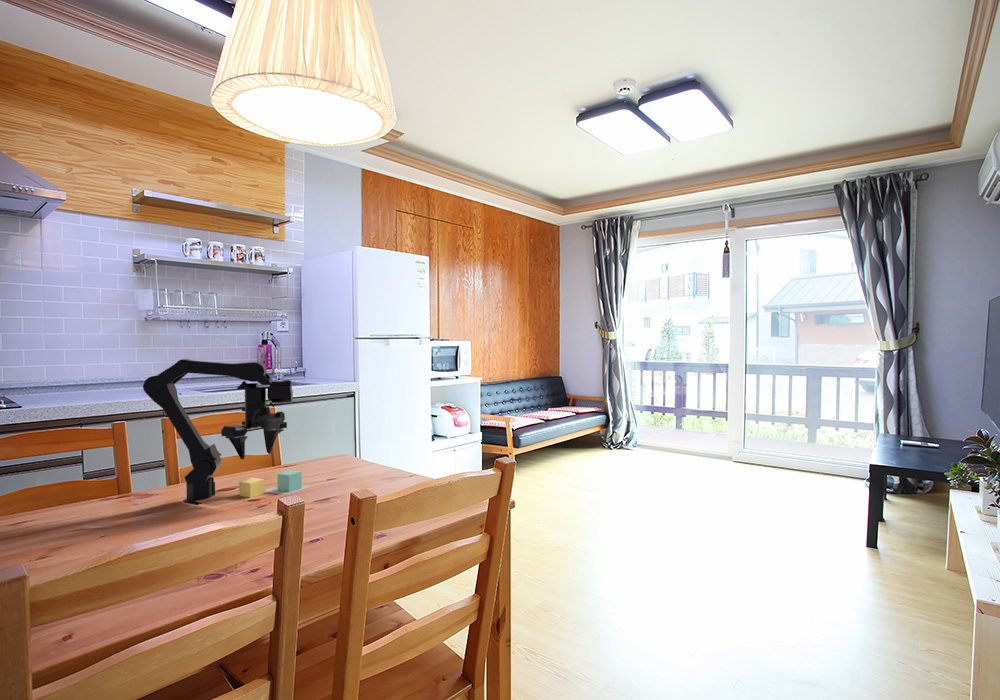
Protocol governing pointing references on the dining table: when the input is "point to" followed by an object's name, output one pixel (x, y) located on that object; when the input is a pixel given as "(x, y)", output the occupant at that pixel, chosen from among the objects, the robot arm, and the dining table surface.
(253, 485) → the ochre brick
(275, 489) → the build plate
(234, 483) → the dining table surface
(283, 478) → the teal brick
